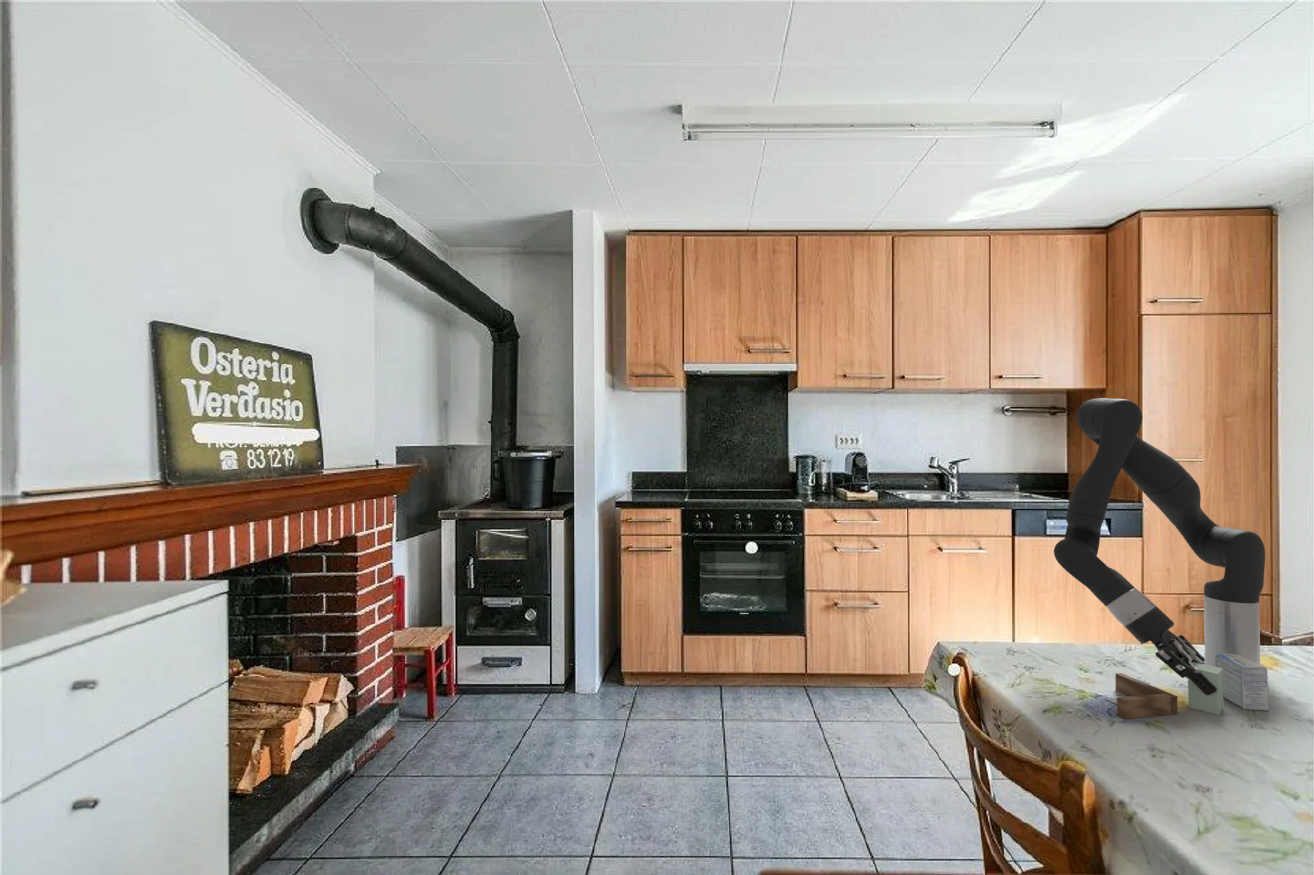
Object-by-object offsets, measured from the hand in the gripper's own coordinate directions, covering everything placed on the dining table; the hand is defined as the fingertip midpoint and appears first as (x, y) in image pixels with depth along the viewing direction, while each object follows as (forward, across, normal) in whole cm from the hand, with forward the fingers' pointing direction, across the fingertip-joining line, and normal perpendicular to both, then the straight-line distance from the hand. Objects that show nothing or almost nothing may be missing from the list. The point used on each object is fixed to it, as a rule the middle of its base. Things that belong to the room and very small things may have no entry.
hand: (1215, 689), depth 120 cm
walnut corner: (-6, -10, +12) cm, 17 cm away
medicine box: (+5, +9, +1) cm, 10 cm away
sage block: (+2, 0, +4) cm, 4 cm away
